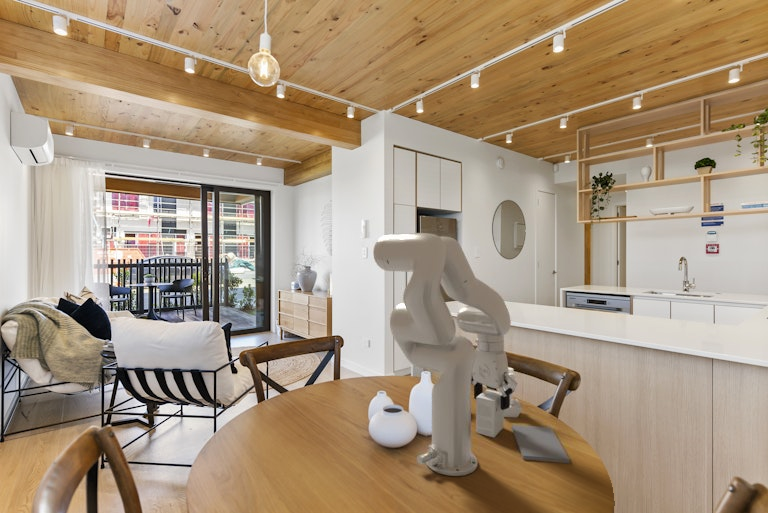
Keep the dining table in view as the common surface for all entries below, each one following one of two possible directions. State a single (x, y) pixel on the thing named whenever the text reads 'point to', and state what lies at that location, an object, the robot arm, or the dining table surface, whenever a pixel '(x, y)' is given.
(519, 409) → the figurine
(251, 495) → the dining table surface
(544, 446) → the mat
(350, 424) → the dining table surface
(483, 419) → the small box
